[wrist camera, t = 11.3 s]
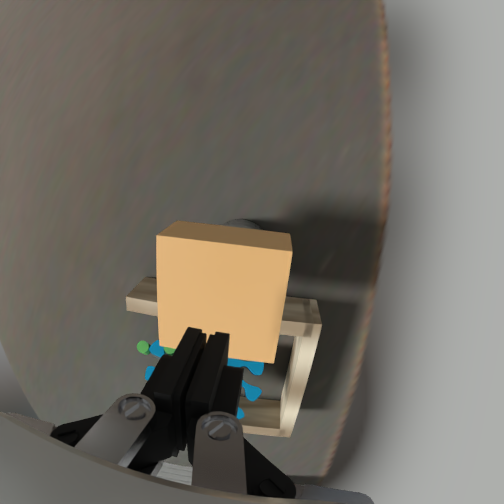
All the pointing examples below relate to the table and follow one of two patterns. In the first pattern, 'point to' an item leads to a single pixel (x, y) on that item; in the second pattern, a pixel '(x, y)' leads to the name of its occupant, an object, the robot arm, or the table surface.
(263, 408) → the chassis bay
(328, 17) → the table surface
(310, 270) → the table surface
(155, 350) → the gear
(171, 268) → the block
